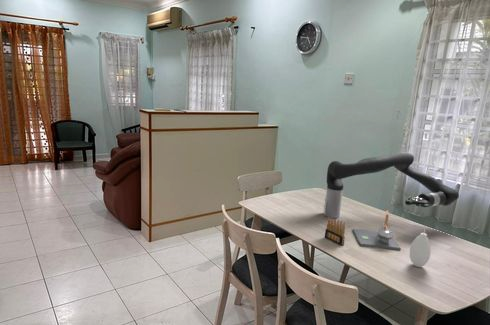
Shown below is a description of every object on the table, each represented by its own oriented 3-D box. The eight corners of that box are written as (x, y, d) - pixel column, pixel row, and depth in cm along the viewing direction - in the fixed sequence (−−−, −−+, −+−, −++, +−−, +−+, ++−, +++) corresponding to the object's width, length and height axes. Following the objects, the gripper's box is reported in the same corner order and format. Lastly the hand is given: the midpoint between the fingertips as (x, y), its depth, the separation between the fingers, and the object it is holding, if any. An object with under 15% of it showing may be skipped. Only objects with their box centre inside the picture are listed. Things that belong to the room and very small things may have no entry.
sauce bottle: (404, 260, 149) (411, 223, 145) (421, 261, 149) (429, 225, 145) (412, 269, 141) (420, 231, 137) (430, 271, 141) (438, 232, 137)
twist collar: (392, 240, 159) (396, 221, 157) (377, 237, 161) (380, 219, 159) (391, 228, 173) (394, 211, 171) (377, 226, 175) (380, 209, 173)
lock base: (360, 245, 160) (361, 238, 160) (352, 230, 178) (353, 223, 177) (400, 250, 159) (401, 242, 158) (388, 234, 176) (389, 227, 175)
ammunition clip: (343, 245, 160) (347, 222, 157) (341, 246, 159) (344, 223, 156) (326, 237, 168) (329, 215, 166) (324, 237, 167) (326, 215, 164)
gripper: (419, 189, 187) (397, 192, 180) (441, 197, 175) (418, 200, 168) (417, 202, 188) (395, 205, 181) (438, 210, 177) (416, 213, 170)
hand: (406, 202), depth 175 cm, fingers closed
